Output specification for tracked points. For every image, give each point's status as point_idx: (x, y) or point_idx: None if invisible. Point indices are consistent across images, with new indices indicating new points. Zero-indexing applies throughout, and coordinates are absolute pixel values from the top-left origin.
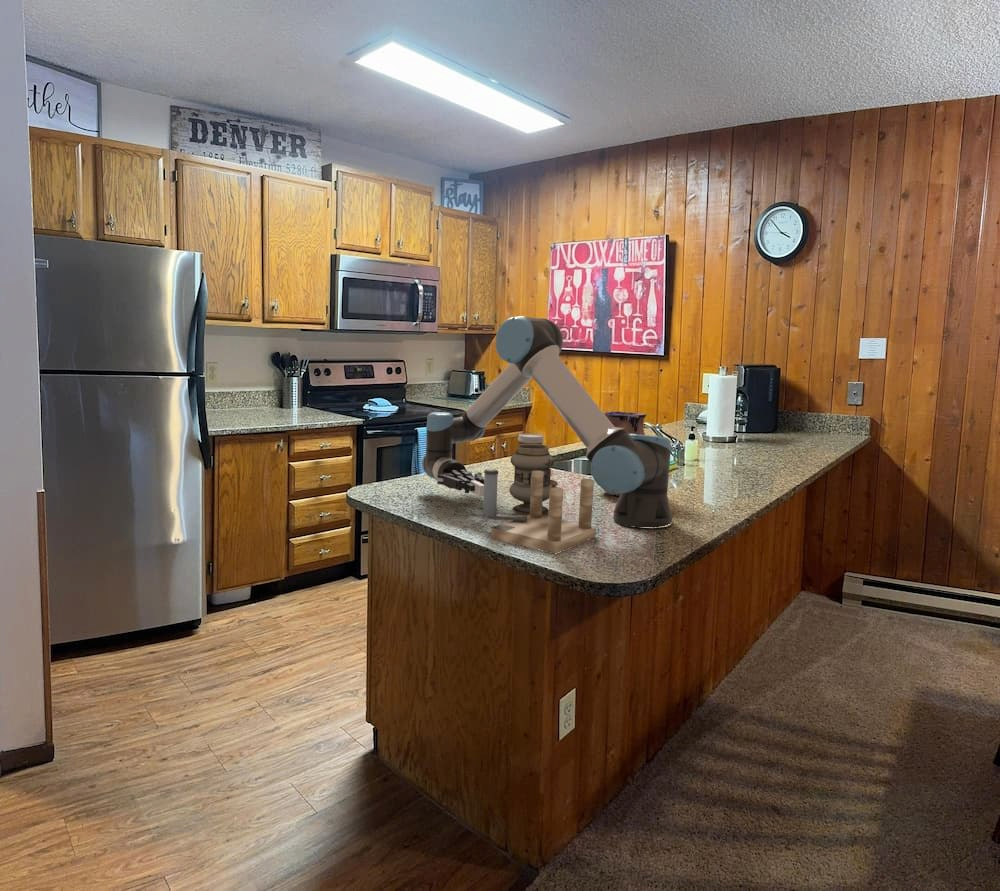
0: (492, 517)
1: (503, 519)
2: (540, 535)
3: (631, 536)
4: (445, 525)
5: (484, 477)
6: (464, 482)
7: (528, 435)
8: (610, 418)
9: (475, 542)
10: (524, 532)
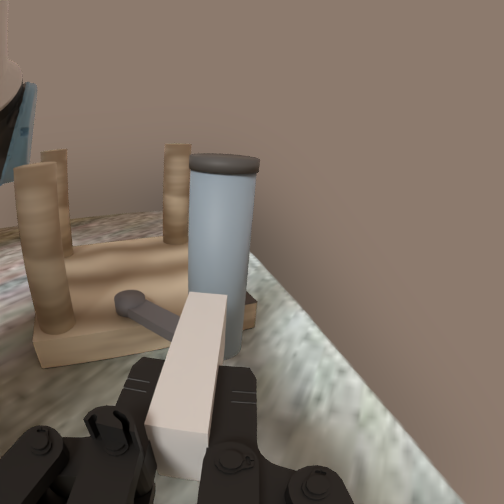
0: None
1: None
2: (180, 252)
3: (8, 257)
4: (363, 457)
5: (253, 195)
6: (259, 483)
7: None
8: None
9: (304, 317)
10: None
